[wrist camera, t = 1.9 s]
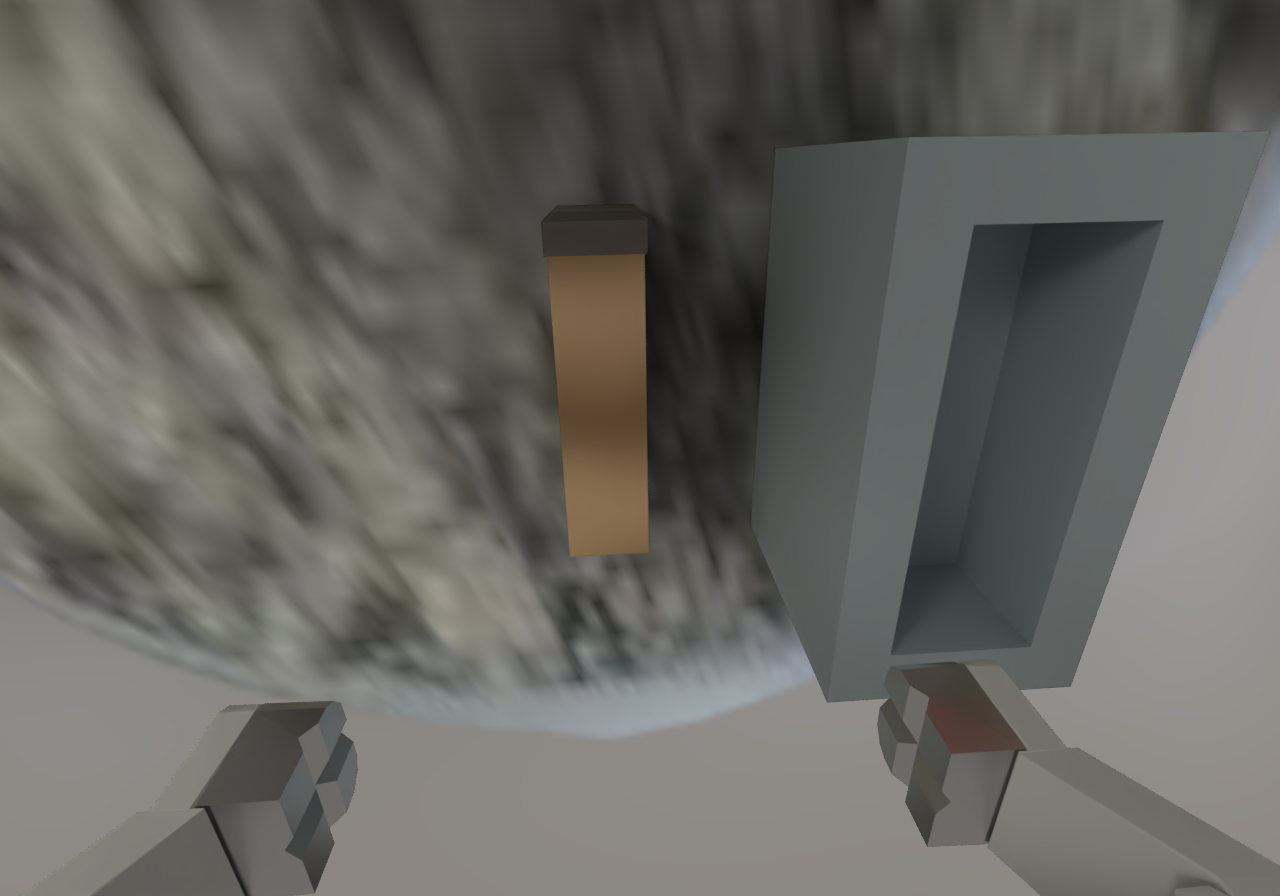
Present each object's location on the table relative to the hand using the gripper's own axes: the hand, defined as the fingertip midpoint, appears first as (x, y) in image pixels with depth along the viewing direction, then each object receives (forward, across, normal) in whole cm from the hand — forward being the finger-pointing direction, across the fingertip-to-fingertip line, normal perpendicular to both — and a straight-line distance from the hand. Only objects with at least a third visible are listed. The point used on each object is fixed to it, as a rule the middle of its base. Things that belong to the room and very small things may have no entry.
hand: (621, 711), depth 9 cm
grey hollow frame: (+21, -12, +1) cm, 24 cm away
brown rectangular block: (+21, 0, 0) cm, 21 cm away
